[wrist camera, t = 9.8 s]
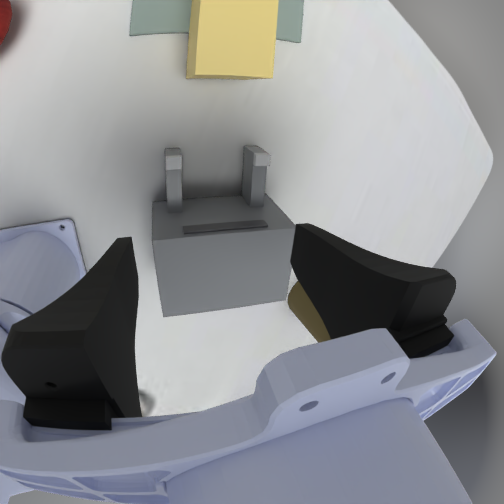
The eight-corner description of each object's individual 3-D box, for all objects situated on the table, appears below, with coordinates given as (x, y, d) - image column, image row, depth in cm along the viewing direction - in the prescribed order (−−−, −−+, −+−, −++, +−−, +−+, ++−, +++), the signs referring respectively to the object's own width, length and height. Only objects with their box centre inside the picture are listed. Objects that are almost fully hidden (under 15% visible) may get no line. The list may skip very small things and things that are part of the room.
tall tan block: (186, 78, 17) (195, 74, 12) (194, -23, 12) (207, -54, 8) (244, 79, 18) (272, 78, 13) (252, -18, 14) (281, -44, 9)
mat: (130, 36, 14) (129, 35, 14) (137, -29, 11) (137, -31, 11) (298, 43, 17) (300, 42, 17) (302, -16, 14) (304, -18, 14)
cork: (318, 260, 29) (380, 338, 20) (346, 285, 32) (401, 354, 23) (276, 301, 30) (323, 386, 21) (308, 320, 34) (353, 394, 25)
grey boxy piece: (159, 267, 24) (163, 317, 19) (149, 149, 19) (146, 173, 14) (260, 257, 27) (285, 299, 22) (270, 146, 21) (306, 167, 17)
